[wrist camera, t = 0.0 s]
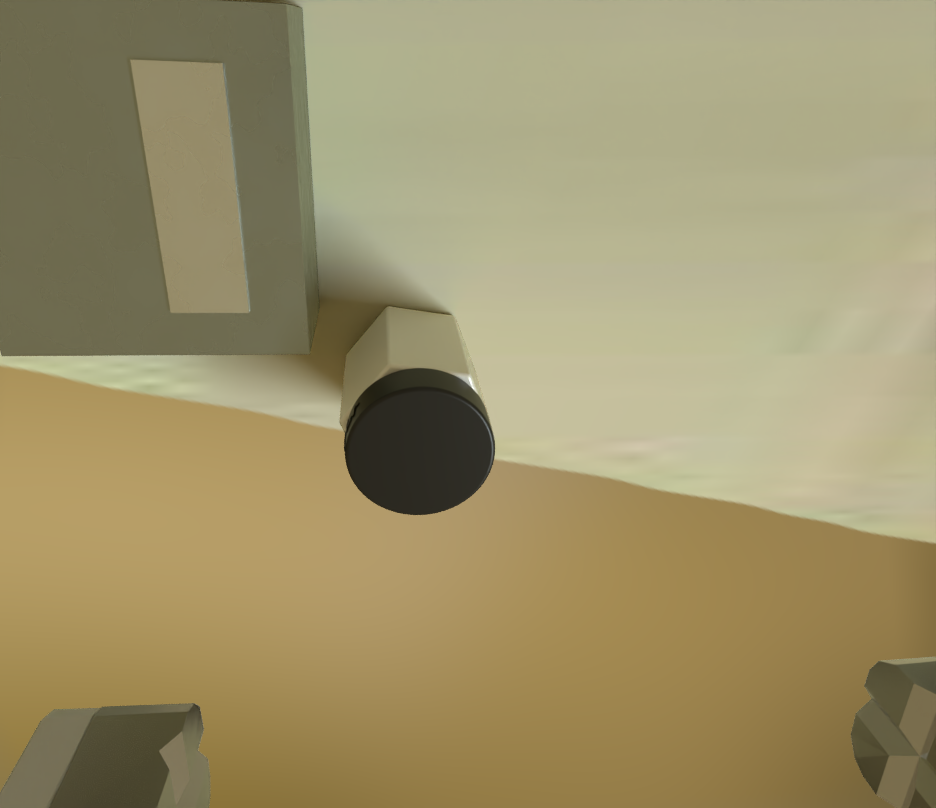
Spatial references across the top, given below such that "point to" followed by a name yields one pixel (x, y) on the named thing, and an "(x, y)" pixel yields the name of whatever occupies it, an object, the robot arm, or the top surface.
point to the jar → (415, 414)
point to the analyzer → (155, 179)
